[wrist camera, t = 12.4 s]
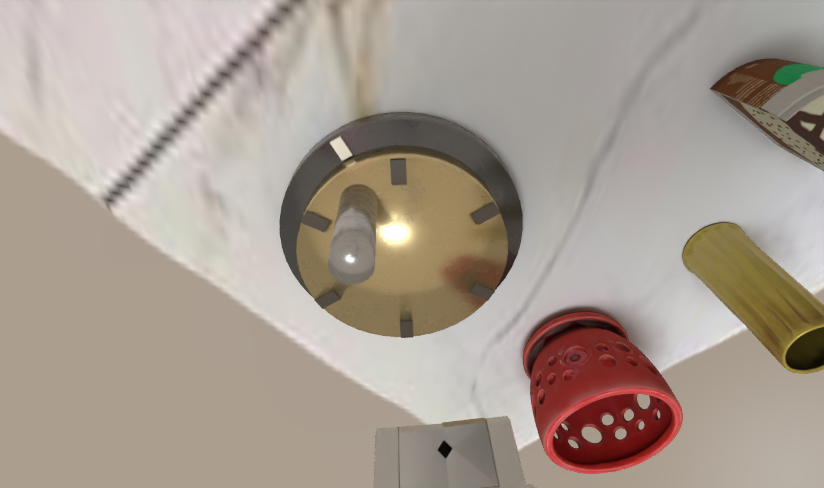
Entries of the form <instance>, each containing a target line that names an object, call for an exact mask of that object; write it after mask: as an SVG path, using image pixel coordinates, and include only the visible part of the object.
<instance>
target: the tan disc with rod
mask: <svg viewBox="0 0 824 488" xmlns="http://www.w3.org/2000/svg"><path fill="white" fill-rule="evenodd" d="M296 253H297V262H298V267H299V270H300V274H301V277H302V279H303V281H304V283H305V285H306V287H307V289H308V290H309V292H310V294H311V295H312V296H313V297H314V299H315V301H316V302H317V303H318V304H319V305H320V307H321V308H322V309H325V310H326V311H327V312H328V313H330V314H331V315H332V316H334V317H335V318H336V319H338V320H340V321H342V322H343V323H345V324H347V325H349V326H351V327H354V328H356V329H358V330H362V331H365V332H368V333H372V334H377V335H382V336H391V337H401V338H408V337H413V336H420V335H425V334H430V333H434V332H437V331H440V330H443V329H446V328H448V327H450V326H453V325H455V324H457V323H459V322H460V321H462V320H464V319H466V318H467V317H468V316H470V315H471V314H473V313H474V312H475V311H476V310H477V309H479V308H480V307H481V306H482V305H483V304H484V303H485V302H486V301H488V300H489V298H490V297H491V296H492V294H493V293H494V292H495V289H496V287H497V286H498V284H499V282H500V280H501V277H502V275H503V272H504V269H505V266H506V261H507V255H508V239H507V233H506V228H505V225H504V222H503V219H502V216H501V214H500V211H499V209H498V206H497V204H496V201H495V199H494V197H493V195H492V193H491V191H490V190H489V188H488V187H487V185H486V184H485V183H484V181H483V180H482V179H481V178H480V177H479V176H478V175H477V174H476V173H475V172H474V171H473V170H472V169H470V168H469V167H468V166H467V165H465V164H464V163H462V162H461V161H459V160H457V159H456V158H454V157H452V156H450V155H447V154H445V153H442V152H440V151H437V150H433V149H429V148H425V147H418V146H407V145H396V146H387V147H380V148H376V149H372V150H368V151H366V152H363V153H360V154H358V155H355V156H353V157H351V158H350V159H348V160H346V161H344V162H342V163H341V164H340V165H338V166H337V167H336V168H334V169H333V170H332V171H331V172H330V173H329V174H327V175H326V176H325V177H324V178H323V179H322V181H321V182H320V183H319V185H318V186H317V187H316V188H315V190H314V192H313V194H312V195H311V197H310V199H309V201H308V204H307V206H306V209H305V212H304V215H303V218H302V221H301V225H300V228H299V232H298V237H297V248H296Z"/></svg>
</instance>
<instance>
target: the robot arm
mask: <svg viewBox="0 0 824 488" xmlns="http://www.w3.org/2000/svg"><path fill="white" fill-rule="evenodd" d="M374 464H375V465H374V488H536V487H535V486H534V485H533V484H526V482H525V478H524V474H523V470H522V466H521V462H520V458H519V454H518V450H517V446H516V442H515V438H514V434H513V430H512V426H511V422H510V420H509V418H508V417H507V416H502V417H494V418H486V419H485V418H478V419H470V420H461V421H453V422H444V423H442V424H430V425H418V426H404V427H392V428H381V429H377V431H376V436H375V462H374Z"/></svg>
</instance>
